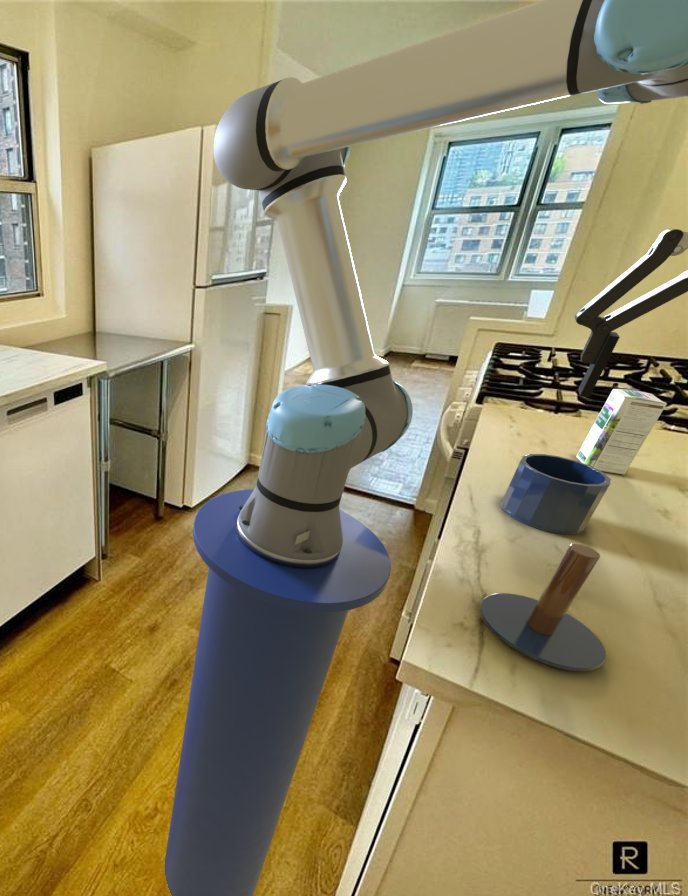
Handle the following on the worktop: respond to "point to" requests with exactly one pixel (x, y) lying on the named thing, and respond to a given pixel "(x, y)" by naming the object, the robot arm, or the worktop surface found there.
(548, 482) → the pot
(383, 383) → the robot arm
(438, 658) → the worktop surface
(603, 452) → the syrup box
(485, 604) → the lid
